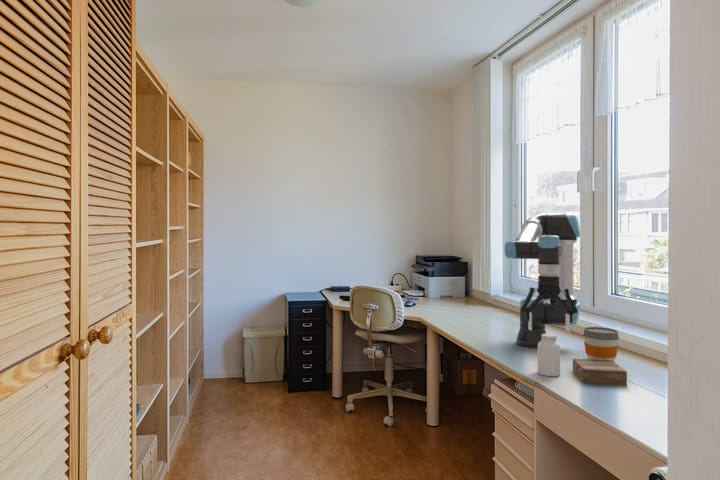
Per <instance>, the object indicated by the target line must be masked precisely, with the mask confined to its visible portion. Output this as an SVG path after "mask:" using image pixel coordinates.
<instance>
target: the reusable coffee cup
mask: <svg viewBox="0 0 720 480" xmlns="http://www.w3.org/2000/svg"><path fill="white" fill-rule="evenodd" d="M583 336H584V342H583V343H584V344H583V345H584V351H585V354H586V357H587V359H589V360H609V361H613V362H614V363H616V362H615V361H616V357H617V356H618V348H619V345H618V340H619V339H620V336H619V331H618V330H615V329H613V328H609V327H601V326H599V327H598V326H587V327H584V329H583Z"/></svg>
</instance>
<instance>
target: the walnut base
mask: <svg viewBox="0 0 720 480" xmlns="http://www.w3.org/2000/svg"><path fill="white" fill-rule="evenodd" d="M572 372H573V373H574V375H576V376H577V377H578V378H579V379H580V380H581V382H583V383H584V384H593V385H595V384H596V385H611V386H627V385H628V371H627V370H625V368H622V367H621V366H620V365H619V364H618V363H617V362H613V361H609V360H589V359H588V358H587V359H584V358H572Z"/></svg>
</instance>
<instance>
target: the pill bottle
mask: <svg viewBox="0 0 720 480" xmlns="http://www.w3.org/2000/svg"><path fill="white" fill-rule="evenodd" d="M541 338H542V339H541V340H542V341H540V342H539V343H538V348H537V373H538V374H539V375H541V376H545V377H558V376H560V374H561V346H560V345H561V344H559V342H557V335H556V334H552V333H547V334H542V335H541Z"/></svg>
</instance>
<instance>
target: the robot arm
mask: <svg viewBox="0 0 720 480" xmlns="http://www.w3.org/2000/svg"><path fill="white" fill-rule="evenodd" d="M580 228H581V227H580V222H579V217H578V215H577V214H576V213H574V212H555V213H539V214H536V215H533V216H531V217H530V218H528V219H526V220H525V221H524V222H523V224H522V225H521V229H520V232H519V234H518V235H517V236H516V238H515V240H507V241H505V243H504V255H505V257H506V258H507V259H513V260H515V259H517V260H519V259H520V260H538V261H537V263H538V264H537V265H538V266H537V268H538V269H537V273H538V277H537V279H538V282H537V285H538V286H537V288H536V287H532V286H530V287H529V291H528V293H527V296H526V297H525V298H522V299H521V300H520V301H519V330H518V333H517V334H516V340H515V341H516V344H517V345H518V346H521V347H526V348H535V349H536V348H537V349H538V343H539V342H540V341H542V340H541V339H542V338H541V335H542V334H548V333H547V331H546V326H547V325H548V326H549V325H550V326H559V327H565V332H567V333H571V332H570V330H571V329H570V328H571V327H573V328H574V327H576V326H577V325H578V322H579V316H580V310H581V303H580V302H579V301H577V297H576V295H574V244H576V242H577V241H578V238H581V229H580ZM537 239H538V240H537ZM536 293H538V295H537V296H534V294H536Z"/></svg>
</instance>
